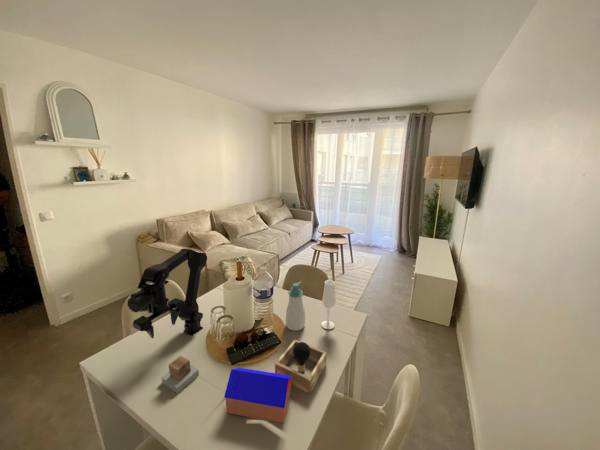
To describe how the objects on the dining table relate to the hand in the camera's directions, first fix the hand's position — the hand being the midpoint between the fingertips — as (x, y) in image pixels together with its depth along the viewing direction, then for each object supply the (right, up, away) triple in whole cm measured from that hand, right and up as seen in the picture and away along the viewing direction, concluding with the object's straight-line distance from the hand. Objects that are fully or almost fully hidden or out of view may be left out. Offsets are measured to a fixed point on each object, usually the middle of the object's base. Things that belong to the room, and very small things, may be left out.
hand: (163, 331), depth 100 cm
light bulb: (+57, -14, -4) cm, 59 cm away
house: (+43, -17, -17) cm, 49 cm away
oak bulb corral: (+57, -14, -4) cm, 59 cm away
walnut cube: (+12, -12, -9) cm, 19 cm away
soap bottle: (+55, -7, +23) cm, 60 cm away
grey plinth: (+12, -15, -9) cm, 21 cm away
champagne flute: (+71, -7, +24) cm, 75 cm away
